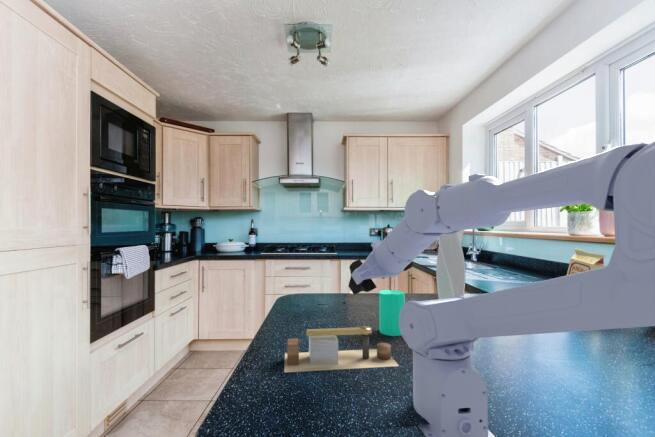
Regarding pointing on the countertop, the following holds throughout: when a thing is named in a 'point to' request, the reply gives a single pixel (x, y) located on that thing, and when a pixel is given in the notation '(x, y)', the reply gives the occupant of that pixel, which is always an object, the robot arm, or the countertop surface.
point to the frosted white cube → (323, 350)
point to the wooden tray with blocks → (340, 358)
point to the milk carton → (585, 262)
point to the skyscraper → (450, 266)
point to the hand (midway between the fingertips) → (366, 281)
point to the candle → (390, 311)
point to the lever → (340, 331)
